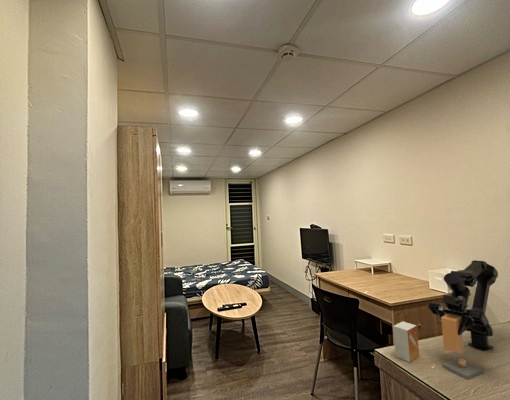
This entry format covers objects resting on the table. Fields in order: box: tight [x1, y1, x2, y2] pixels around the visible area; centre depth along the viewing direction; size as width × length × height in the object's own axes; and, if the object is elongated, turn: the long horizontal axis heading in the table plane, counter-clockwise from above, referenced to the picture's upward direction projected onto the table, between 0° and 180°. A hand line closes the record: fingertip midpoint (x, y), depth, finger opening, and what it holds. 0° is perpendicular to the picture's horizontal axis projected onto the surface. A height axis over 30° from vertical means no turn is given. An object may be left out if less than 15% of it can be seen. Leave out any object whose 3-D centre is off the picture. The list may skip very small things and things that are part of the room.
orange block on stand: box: [440, 314, 465, 354], centre depth 106 cm, size 5×5×12 cm
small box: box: [392, 320, 420, 363], centre depth 115 cm, size 8×6×13 cm
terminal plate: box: [441, 357, 485, 380], centre depth 103 cm, size 10×9×4 cm
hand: (450, 332), depth 105 cm, fingers closed on orange block on stand, 5 cm apart
